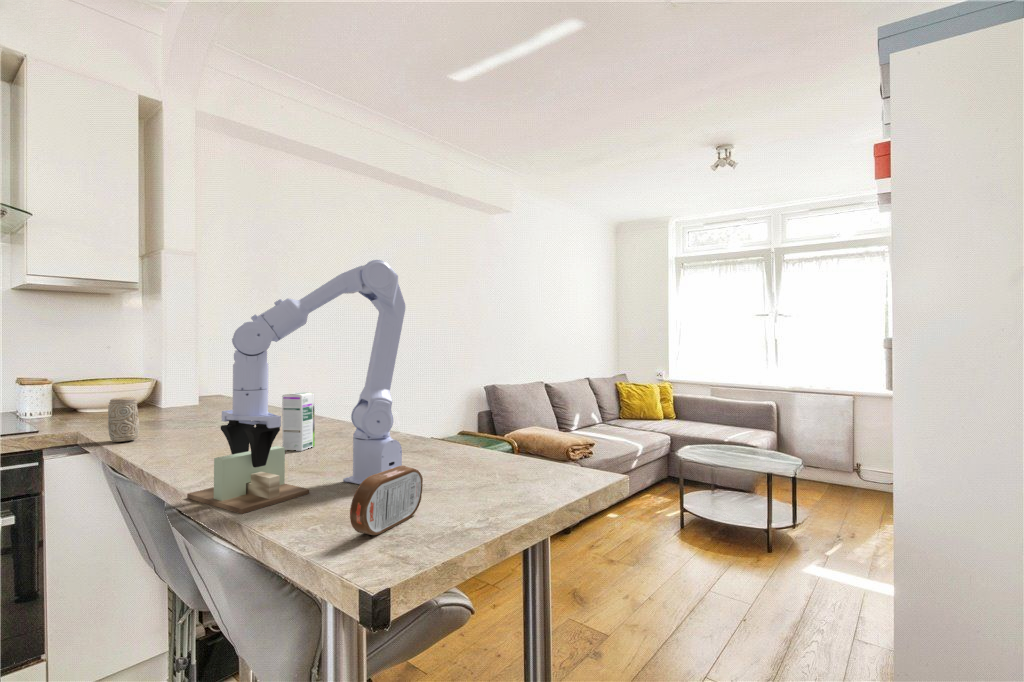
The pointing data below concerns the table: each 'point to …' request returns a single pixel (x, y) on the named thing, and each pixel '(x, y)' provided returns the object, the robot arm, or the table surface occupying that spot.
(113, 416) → the carving
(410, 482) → the tin
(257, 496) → the slotted base
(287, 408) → the syrup box
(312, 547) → the table surface
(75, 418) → the table surface
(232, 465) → the sage plate
